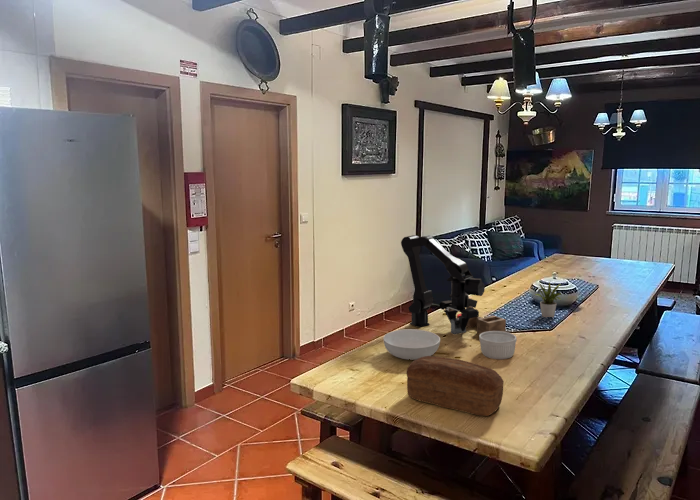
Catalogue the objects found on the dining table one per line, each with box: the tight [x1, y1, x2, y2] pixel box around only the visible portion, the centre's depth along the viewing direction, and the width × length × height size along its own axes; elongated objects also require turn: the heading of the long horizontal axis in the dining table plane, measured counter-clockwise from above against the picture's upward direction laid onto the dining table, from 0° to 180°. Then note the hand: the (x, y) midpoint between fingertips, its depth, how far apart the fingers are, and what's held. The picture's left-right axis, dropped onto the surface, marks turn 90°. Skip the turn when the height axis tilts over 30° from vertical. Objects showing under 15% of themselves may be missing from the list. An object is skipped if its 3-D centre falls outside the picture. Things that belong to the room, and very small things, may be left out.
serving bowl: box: [382, 328, 441, 361], centre depth 195 cm, size 21×21×7 cm
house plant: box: [531, 281, 563, 318], centre depth 237 cm, size 14×14×16 cm
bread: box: [406, 355, 504, 417], centre depth 156 cm, size 14×28×12 cm, turn 56°
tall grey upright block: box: [450, 317, 467, 336], centre depth 219 cm, size 6×2×6 cm, turn 118°
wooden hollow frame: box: [466, 306, 507, 335], centre depth 222 cm, size 9×19×9 cm, turn 28°
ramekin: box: [478, 331, 518, 360], centre depth 193 cm, size 13×13×7 cm
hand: (458, 329), depth 219 cm, fingers open, 6 cm apart
